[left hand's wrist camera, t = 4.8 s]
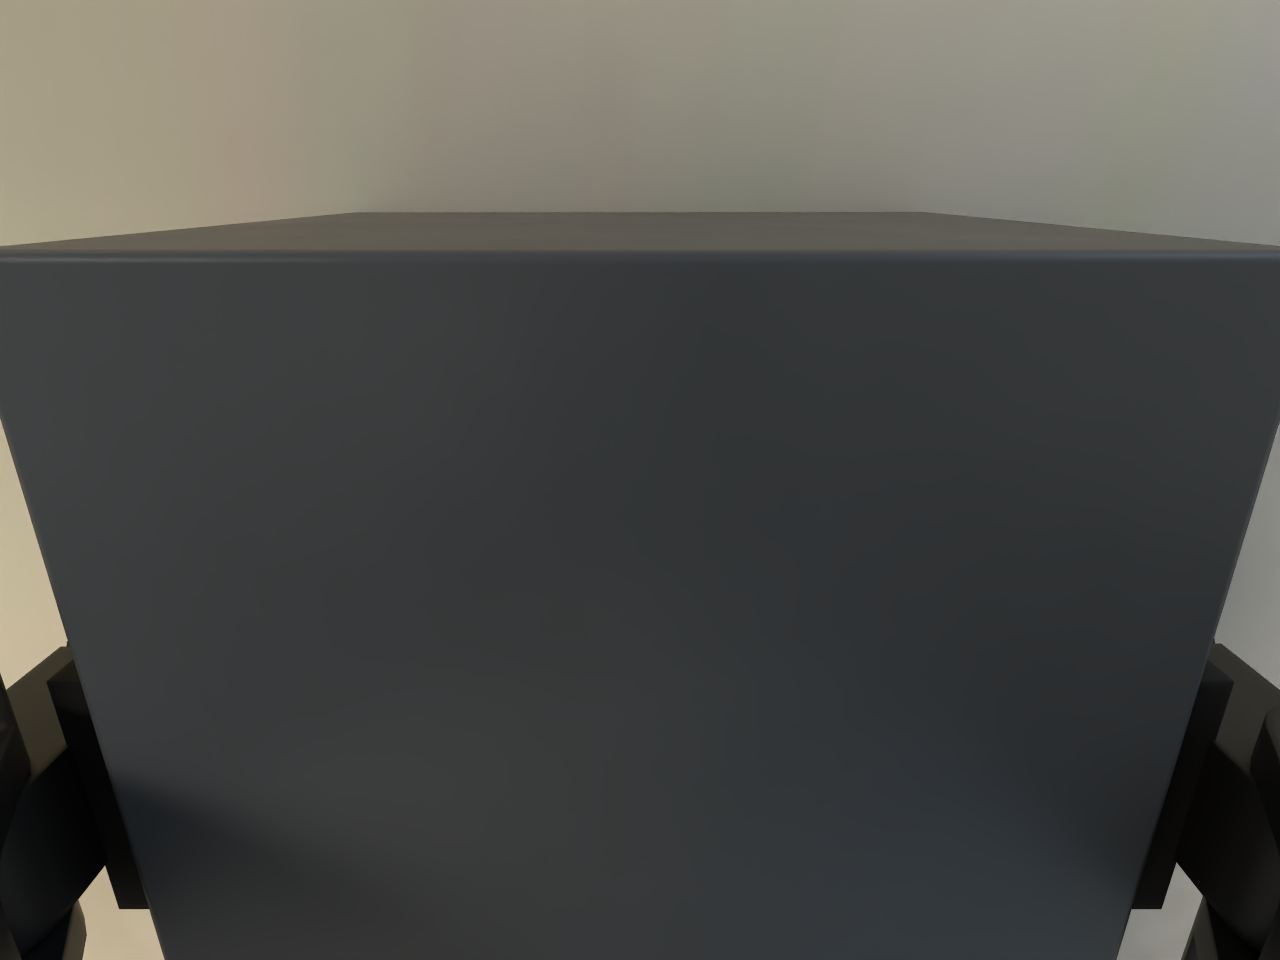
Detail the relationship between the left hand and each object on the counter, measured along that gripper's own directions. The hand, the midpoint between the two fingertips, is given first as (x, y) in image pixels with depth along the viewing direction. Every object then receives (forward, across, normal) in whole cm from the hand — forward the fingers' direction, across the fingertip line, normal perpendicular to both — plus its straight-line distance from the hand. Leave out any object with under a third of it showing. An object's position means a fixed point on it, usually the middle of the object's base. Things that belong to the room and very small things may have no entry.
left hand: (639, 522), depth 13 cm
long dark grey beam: (0, 0, -22) cm, 22 cm away
